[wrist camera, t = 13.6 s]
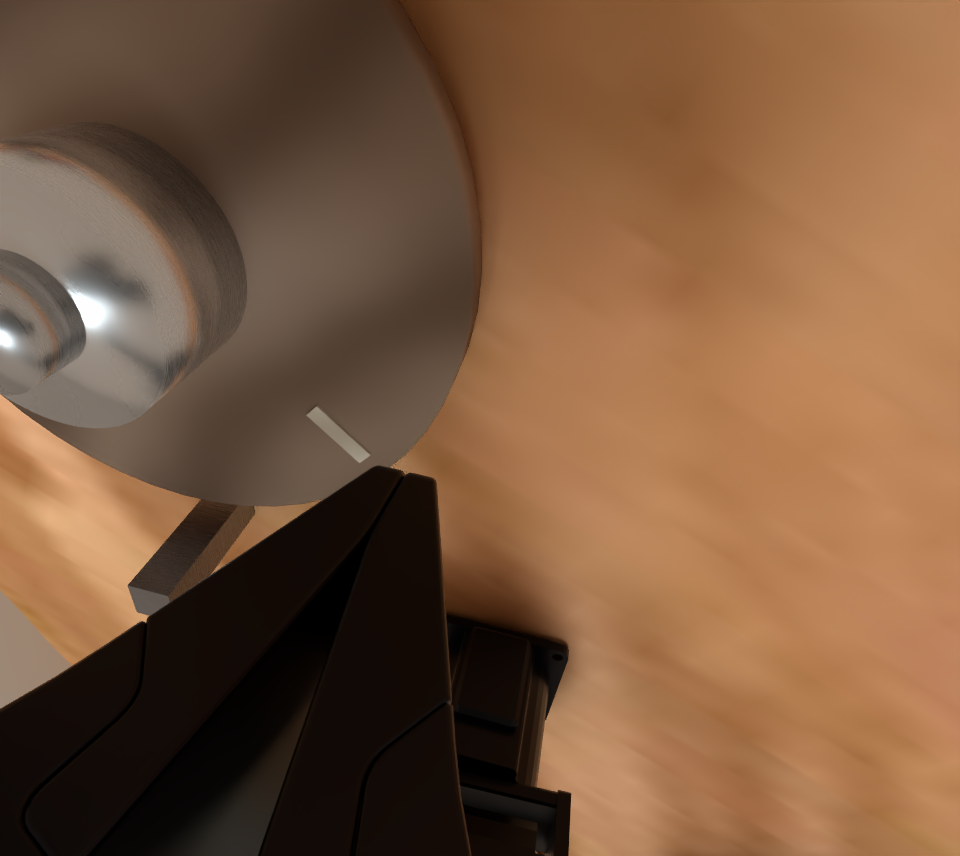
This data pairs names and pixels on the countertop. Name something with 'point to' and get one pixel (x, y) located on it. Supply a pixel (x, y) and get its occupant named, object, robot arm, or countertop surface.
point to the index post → (189, 554)
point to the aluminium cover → (108, 274)
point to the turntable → (280, 224)
